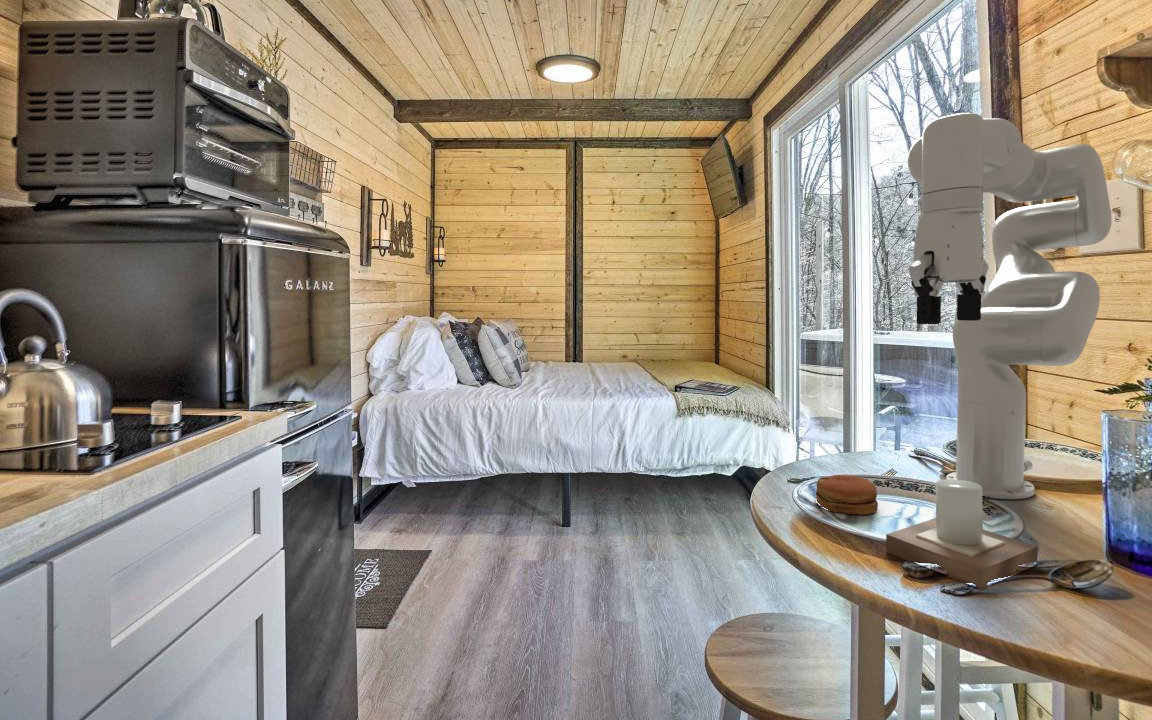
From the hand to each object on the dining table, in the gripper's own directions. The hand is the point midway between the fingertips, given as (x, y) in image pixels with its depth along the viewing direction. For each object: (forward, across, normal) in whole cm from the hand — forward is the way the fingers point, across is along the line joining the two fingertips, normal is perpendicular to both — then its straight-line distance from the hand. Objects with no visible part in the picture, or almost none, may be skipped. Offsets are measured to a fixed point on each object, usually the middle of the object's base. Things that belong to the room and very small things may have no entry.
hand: (948, 322), depth 84 cm
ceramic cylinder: (+27, +12, +9) cm, 31 cm away
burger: (+31, +8, -12) cm, 34 cm away
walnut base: (+30, +12, +9) cm, 34 cm away
